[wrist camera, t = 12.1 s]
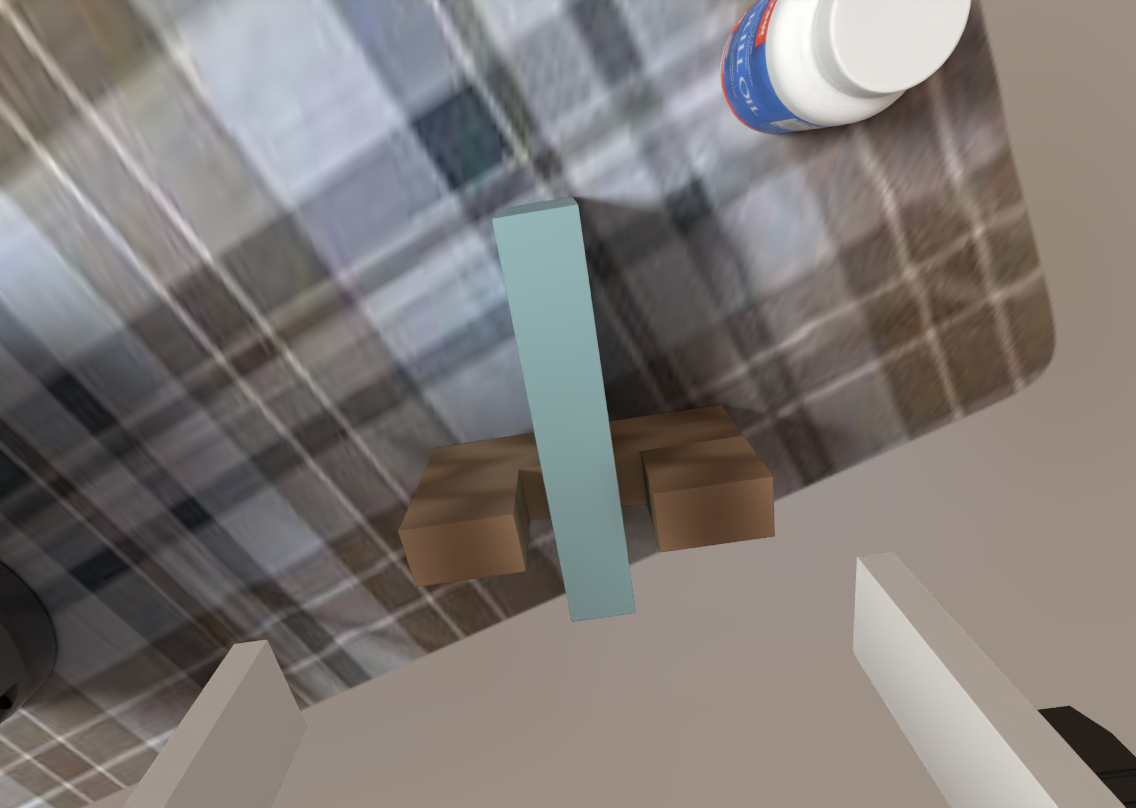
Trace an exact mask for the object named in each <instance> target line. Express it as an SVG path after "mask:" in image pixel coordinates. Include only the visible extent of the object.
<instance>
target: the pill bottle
mask: <svg viewBox="0 0 1136 808" xmlns="http://www.w3.org/2000/svg"><path fill="white" fill-rule="evenodd" d="M970 6H971V0H759V1H758V2H756V3H755V4H754V5H753V6H752V7H750V8H749V9H748V10H747V11H746V13H745V14H744V15H743V16H742V17H741V18H740V19H739V21H738V22H737V23H736V25H735V26H734V28H733V30H732V31H731V33H730V35H729V38H728V40H727V42H726V45H725V48H724V51H723V55H722V59H721V67H720V81H721V88H722V92H723V96H724V99H725V101H726V103H727V105H728V107H729V109H730V110H731V112H732V113H733V114H734V115H735V117H736V118H737V119H738V120H739V121H741V122H742V123H743V124H744V125H746V126H748V127H749V128H751V129H754V130H756V131H759V132H763V133H772V134H781V133H789V132H796V131H803V130H810V129H818V128H825V127H833V126H839V125H844V124H850V123H855V122H858V121H861V120H864V119H867V118H870V117H872V116H874V115H876V114H877V113H879V112H881V111H882V110H884V109H886V108H887V107H888V106H890V105H891V104H892V103H893V102H895V101H896V100H897V99H898V98H899V97H900V96H901V95H902V94H903V93H904V92H905V91H906V90H907V89H909V88H911V87H913V86H915V85H917V84H919V83H921V82H922V81H924V80H925V79H927V78H928V77H929V76H931V75H932V74H933V73H934V72H935V71H936V70H937V69H939V68H940V67H941V66H942V65H943V63H944V62H945V61H946V60H947V59H948V57H949V56H950V54H951V53H952V52H953V50H954V49H955V47H956V45H957V44H958V42H959V40H960V38H961V36H962V33H963V31H964V29H965V26H966V23H967V19H968V15H969V11H970Z"/></svg>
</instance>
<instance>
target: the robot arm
mask: <svg viewBox="0 0 1136 808" xmlns="http://www.w3.org/2000/svg"><path fill="white" fill-rule="evenodd" d="M853 654H854V655H855V657H856V659H857V660H858V662H859V663H860V665H861V667H862V668H863V670H864V671H865V673H866V674H867V676H868V677H869V679H870V681H871V682H872V684H873V685H874V687H875V689H876V690H877V692H878V694H879V695H880V696H881V698H882V700H883V701H884V703H885V705H886V706H887V708H888V709H889V711H890V712H891V714H892V716H893V717H894V719H895V720H896V722H897V724H898V725H899V727H900V728H901V730H902V732H903V733H904V735H905V736H906V738H907V739H908V741H909V742H910V744H911V746H912V747H913V749H914V751H915V752H916V754H917V755H918V757H919V758H920V760H921V762H922V763H923V765H924V766H925V768H926V770H927V771H928V773H929V774H930V776H931V778H932V779H933V781H934V782H935V784H936V785H937V787H938V789H939V790H940V792H941V793H942V795H943V797H944V798H945V800H946V801H947V803H948V804H949V806H950V807H951V808H1136V757H1135V756H1134V755H1133V754H1132V753H1131V752H1130V751H1129V750H1128V749H1127V748H1126V747H1125V746H1124V745H1123V744H1122V743H1121V742H1120V741H1119V740H1118V739H1117V738H1116V737H1115V736H1114V735H1113V734H1112V733H1110V732H1109V731H1108V730H1106V729H1105V728H1103V727H1102V726H1100V725H1099V724H1097V723H1095V722H1094V721H1092V720H1091V719H1089V718H1088V717H1086V716H1084V715H1083V714H1082V713H1080V712H1078V711H1077V710H1075V709H1074V708H1072V707H1071V706H1064V707H1056V708H1048V709H1040V710H1037V709H1036V708H1035V707H1034V706H1033V705H1032V704H1031V703H1030V702H1029V701H1028V700H1027V699H1026V697H1025V696H1024V695H1023V694H1022V693H1021V692H1020V691H1019V690H1018V689H1017V687H1016V686H1015V685H1014V684H1013V683H1012V682H1011V681H1010V680H1009V679H1008V678H1007V676H1006V675H1005V674H1004V673H1003V672H1002V671H1001V670H1000V669H999V668H998V667H997V665H996V664H995V663H994V662H993V661H992V660H991V659H990V658H989V657H988V656H987V654H985V652H984V651H983V650H982V649H981V648H980V647H979V646H978V645H977V644H976V642H975V641H974V640H973V639H972V638H971V637H970V636H969V635H968V634H967V632H965V630H964V629H963V628H962V627H961V626H960V625H959V624H958V623H957V621H956V620H955V619H954V618H953V617H952V616H951V615H950V614H949V613H948V612H947V610H946V609H945V608H944V607H943V606H942V605H941V604H940V603H939V602H938V601H937V599H935V597H934V596H933V595H932V594H931V593H930V592H929V591H928V590H927V588H926V587H925V586H924V585H923V584H922V583H921V582H920V581H919V580H918V578H917V577H916V576H915V575H914V574H913V573H912V572H911V571H910V570H909V569H908V567H907V566H906V565H905V564H904V563H903V562H902V561H901V560H900V559H899V558H898V557H897V555H896V554H895V553H894V552H893V551H892V552H885V553H878V554H871V555H864V556H857V570H856V591H855V612H854V634H853ZM55 657H56V642H55V636H54V632H53V629H52V626H51V623H50V621H49V619H48V617H47V615H46V613H45V611H44V609H43V608H42V606H41V604H40V603H39V601H38V600H37V599H36V597H35V596H34V595H33V594H32V592H31V591H30V590H29V589H28V588H27V587H26V586H25V584H24V583H23V582H22V581H21V580H20V579H19V578H18V577H16V576H15V575H14V574H13V573H12V572H11V571H10V570H8V569H7V568H6V567H5V566H3V565H2V564H1V563H0V724H1V723H2V722H3V721H5V720H6V719H7V718H9V717H10V716H11V715H13V714H14V713H15V712H16V711H17V710H18V709H19V708H20V707H21V706H22V705H23V704H24V703H25V702H26V701H27V700H28V699H29V698H30V697H31V696H32V695H33V694H34V693H35V692H36V691H37V690H38V689H39V688H40V687H41V686H42V685H43V684H44V683H45V682H46V680H47V679H48V677H49V675H50V674H51V672H52V669H53V666H54V663H55ZM306 728H307V725H306V723H305V721H304V718H303V716H302V714H301V712H300V710H299V708H298V705H297V703H296V701H295V699H294V697H293V695H292V692H291V690H290V688H289V686H288V684H287V681H286V679H285V677H284V675H283V673H282V671H281V668H280V666H279V664H278V662H277V660H276V658H275V655H274V653H273V651H272V649H271V647H270V645H269V642H268V640H260V641H253V642H246V643H239V644H234V645H233V646H232V648H231V649H230V651H229V652H228V654H227V655H226V657H225V658H224V660H223V661H222V662H221V664H220V665H219V667H218V668H217V670H216V671H215V673H214V674H213V676H212V677H211V679H210V680H209V681H208V683H207V684H206V686H205V687H204V689H203V690H202V692H201V693H200V695H199V696H198V698H197V699H196V701H195V702H194V703H193V705H192V706H191V708H190V709H189V711H188V712H187V714H186V715H185V717H184V718H183V720H182V721H181V723H180V724H179V725H178V727H177V728H176V730H175V731H174V733H173V734H172V736H171V737H170V739H169V740H168V742H167V743H166V745H165V746H164V747H163V749H162V750H161V752H160V753H159V755H158V756H157V758H156V759H155V761H154V762H153V764H152V765H151V766H150V768H149V769H148V771H147V772H146V774H145V775H144V777H143V778H142V780H141V781H140V783H139V784H138V786H137V787H136V788H135V790H134V791H133V793H132V794H131V796H130V797H129V799H128V800H127V802H126V803H125V805H124V806H123V808H271V806H272V803H273V801H274V799H275V797H276V795H277V792H278V790H279V788H280V786H281V783H282V781H283V779H284V777H285V774H286V772H287V770H288V768H289V766H290V763H291V761H292V759H293V757H294V754H295V752H296V750H297V747H298V745H299V743H300V741H301V739H302V736H303V734H304V732H305V730H306Z"/></svg>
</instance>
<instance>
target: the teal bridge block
mask: <svg viewBox="0 0 1136 808" xmlns="http://www.w3.org/2000/svg"><path fill="white" fill-rule="evenodd" d="M492 221H493V226H494V231H495V236H496V241H497V246H498V251H499V256H500V261H501V266H502V272H503V277H504V282H505V287H506V292H507V297H508V302H509V307H510V312H511V317H512V322H513V327H514V332H515V337H516V342H517V347H518V353H519V358H520V363H521V368H522V373H523V378H524V383H525V388H526V393H527V398H528V403H529V408H530V413H531V418H532V423H533V428H534V433H535V439H536V444H537V449H538V454H539V459H540V464H541V469H542V474H543V479H544V484H545V489H546V494H547V499H548V504H549V509H550V514H551V520H552V525H553V530H554V535H555V540H556V545H557V550H558V555H559V560H560V565H561V570H562V575H563V580H564V585H565V590H566V595H567V600H568V605H569V610H570V615H571V621H572V622H573V621H580V620H588V619H595V618H602V617H609V616H617V615H624V614H632V613H636V610H635V603H634V596H633V589H632V582H631V574H630V567H629V560H628V553H627V546H626V539H625V532H624V525H623V518H622V511H621V504H620V497H619V490H618V483H617V476H616V469H615V462H614V455H613V448H612V441H611V433H610V426H609V419H608V412H607V405H606V398H605V391H604V384H603V377H602V370H601V363H600V356H599V349H598V342H597V335H596V328H595V321H594V314H593V307H592V300H591V293H590V285H589V278H588V271H587V264H586V257H585V250H584V243H583V236H582V229H581V222H580V215H579V208H578V204H577V202H576V201H575V200H574V199H573V197H568V198H562V199H556V200H550V201H544V202H538V203H532V204H526V205H520V206H514V207H510V208H508V209H506V210H505V211H503V212H502V213H500V214H499V215H497V216H496V217H494V218H493V219H492Z"/></svg>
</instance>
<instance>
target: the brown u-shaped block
mask: <svg viewBox="0 0 1136 808" xmlns="http://www.w3.org/2000/svg"><path fill="white" fill-rule="evenodd" d="M609 426H610V433H611V441H612V448H613V455H614V462H615V469H616V476H617V483H618V490H619V497H620V504H621V507H626V506H633V505H640V504H647V505H648V509H649V513H650V516H651V520H652V523H653V527H654V531H655V534H656V538H657V542H658V545H659V549H660V552H667V551H673V550H681V549H688V548H695V547H702V546H709V545H717V544H723V543H731V542H738V541H745V540H752V539H759V538H766V537H772V536H775V533H774V490H773V476H772V474H771V473H770V471H769V470H768V469H767V467H766V466H765V465H764V463H763V462H762V460H761V459H760V458H759V456H758V455H757V453H756V452H755V451H754V449H753V448H752V447H751V445H750V444H749V442H748V441H747V440H746V438H745V437H744V435H743V434H742V433H741V431H740V430H739V429H738V427H737V426H736V424H735V423H734V422H733V420H732V419H731V417H730V416H729V415H728V413H727V412H726V411H725V409H724V408H723V406H722V405H715V406H709V407H702V408H696V409H689V410H682V411H676V412H669V413H662V414H656V415H649V416H643V417H636V418H629V419H623V420H616V421H609ZM550 517H551V514H550V509H549V504H548V499H547V494H546V489H545V484H544V479H543V474H542V469H541V464H540V459H539V454H538V449H537V444H536V439H535V433H530V434H523V435H517V436H510V437H503V438H497V439H490V440H484V441H477V442H470V443H464V444H457V445H450V446H444V447H437V448H435V450H434V452H433V454H432V456H431V459H430V461H429V463H428V465H427V468H426V470H425V472H424V474H423V476H422V479H421V481H420V483H419V485H418V488H417V490H416V492H415V494H414V497H413V499H412V501H411V503H410V506H409V508H408V510H407V512H406V514H405V517H404V519H403V521H402V523H401V526H400V528H399V530H398V532H399V536H400V539H401V542H402V545H403V548H404V551H405V554H406V557H407V560H408V564H409V567H410V570H411V573H412V576H413V579H414V582H415V585H416V587H418V586H425V585H433V584H440V583H447V582H454V581H461V580H468V579H475V578H482V577H489V576H496V575H504V574H511V573H518V572H525V571H526V565H527V552H528V539H529V527H530V520H537V519H543V518H550Z"/></svg>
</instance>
